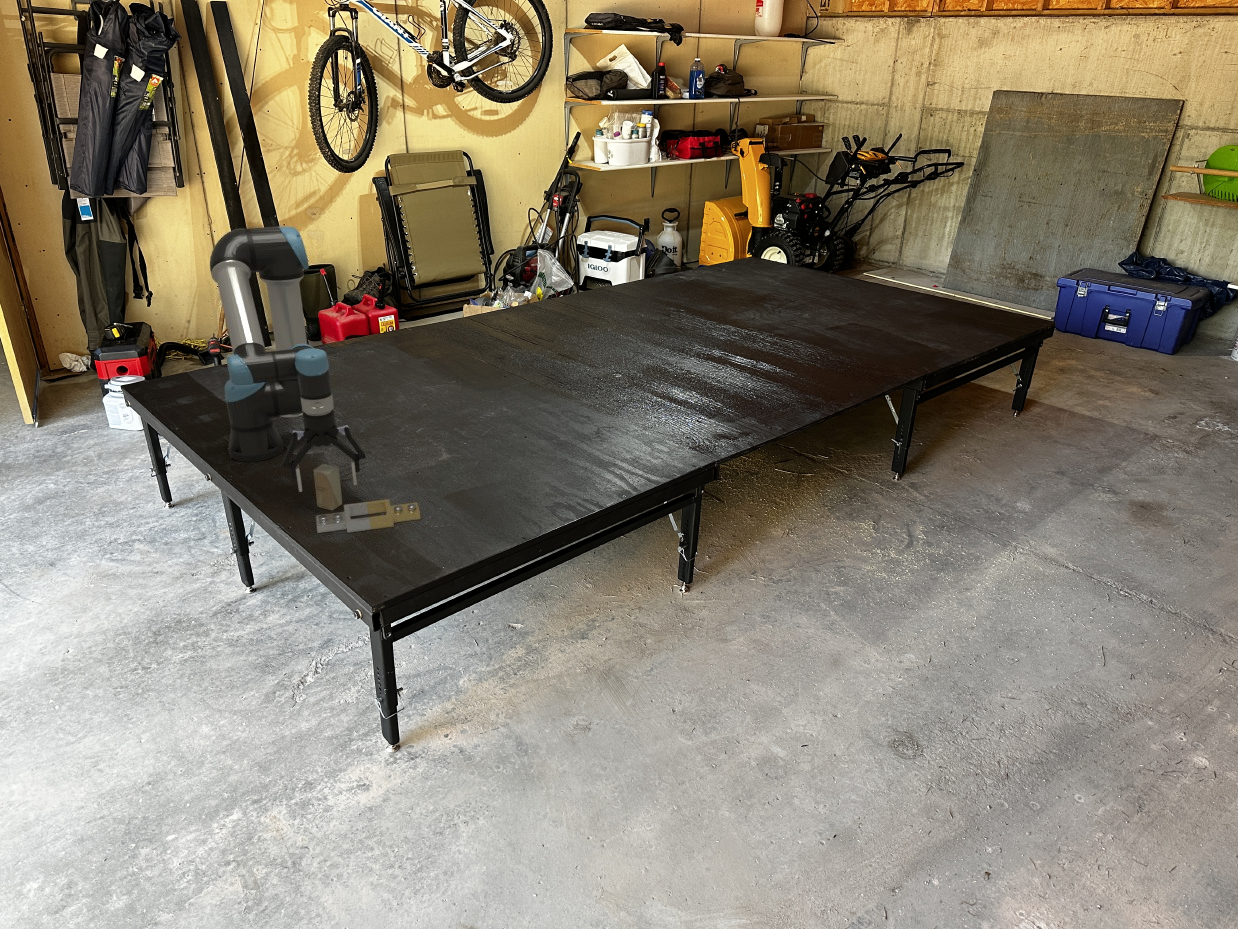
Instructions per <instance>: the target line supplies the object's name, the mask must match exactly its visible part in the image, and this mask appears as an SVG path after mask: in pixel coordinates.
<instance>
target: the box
mask: <svg viewBox="0 0 1238 929" xmlns="http://www.w3.org/2000/svg"><path fill="white" fill-rule="evenodd" d="M313 478H314V488H315V497H316V498H315V499H316V506H317V507H318V508H321V509H325V510H327V511H328V510H329V511H335V509H338V507H340V506H341V505H343V498H342V497H343V496H342V487H341V476H340V467H338V466H334V465H330V464H326V463H322V464H321V465H319V466H317V467H315V468H314V469H313Z"/></svg>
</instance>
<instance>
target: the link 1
mask: <svg viewBox="0 0 1238 929" xmlns="http://www.w3.org/2000/svg"><path fill="white" fill-rule="evenodd" d="M367 502H368V501H364V502H355V503H349V504H348V503H347V504H343V511H340V512H332V513H323V514H316V515H315V522H316V532H317V533H318V534H321V533H329V532H336V531H341V530H343V531H345V530H346V533H350V534H351V533H355V532H362V531H364V532H365V531H370V530H372V529H371V527H370V518H369V517H370V516H369V517H367V515H369V514H368V510H367ZM363 515H366V517H360V518H351V517H357V516H363Z"/></svg>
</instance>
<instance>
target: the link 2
mask: <svg viewBox="0 0 1238 929" xmlns="http://www.w3.org/2000/svg"><path fill="white" fill-rule="evenodd" d="M366 502H367V510H368V514H367V515H371V514H379V513H380V514H381V513H385V514H381V515H375V516H369V518H370V527H371V530H376V529H378V530H379V529H384V528H392V527H393V528H394V527H395V525H394V524H395V523H401V522H409V521H416V520H421V519H422V518H421V511H420V507H419V505H418V504H419V503H418V502H411V503H403V504H401V503H400V504H394V505H391V501H390V499H381V500H380V499H379V500H372V501H366Z"/></svg>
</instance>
